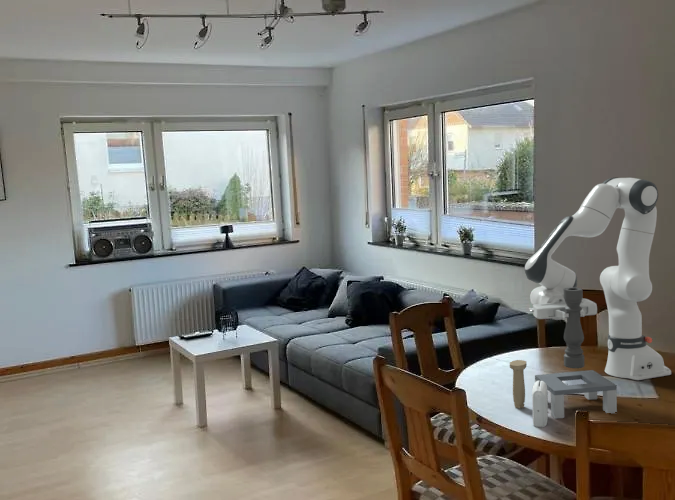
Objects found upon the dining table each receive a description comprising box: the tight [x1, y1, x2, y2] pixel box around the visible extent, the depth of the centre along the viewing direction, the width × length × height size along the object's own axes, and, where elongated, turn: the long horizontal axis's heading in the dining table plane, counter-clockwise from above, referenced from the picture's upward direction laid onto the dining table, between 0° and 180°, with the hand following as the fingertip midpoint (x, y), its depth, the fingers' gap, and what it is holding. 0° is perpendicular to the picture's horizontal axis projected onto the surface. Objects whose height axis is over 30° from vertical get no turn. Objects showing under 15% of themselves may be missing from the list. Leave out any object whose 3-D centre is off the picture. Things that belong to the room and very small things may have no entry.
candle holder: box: [563, 287, 585, 369], centre depth 213 cm, size 6×6×25 cm
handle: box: [509, 359, 527, 410], centre depth 218 cm, size 5×6×15 cm
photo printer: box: [531, 381, 549, 428], centre depth 206 cm, size 10×4×12 cm, turn 160°
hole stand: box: [534, 369, 618, 420], centre depth 216 cm, size 20×16×9 cm
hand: (574, 315), depth 212 cm, fingers closed on candle holder, 4 cm apart
